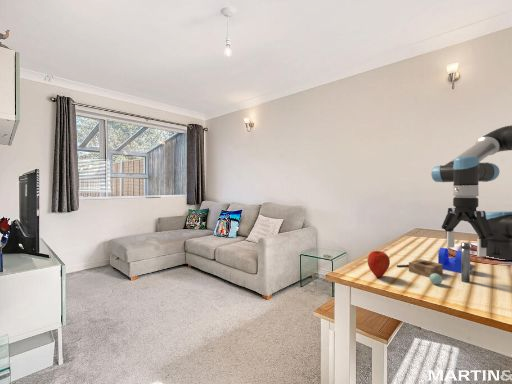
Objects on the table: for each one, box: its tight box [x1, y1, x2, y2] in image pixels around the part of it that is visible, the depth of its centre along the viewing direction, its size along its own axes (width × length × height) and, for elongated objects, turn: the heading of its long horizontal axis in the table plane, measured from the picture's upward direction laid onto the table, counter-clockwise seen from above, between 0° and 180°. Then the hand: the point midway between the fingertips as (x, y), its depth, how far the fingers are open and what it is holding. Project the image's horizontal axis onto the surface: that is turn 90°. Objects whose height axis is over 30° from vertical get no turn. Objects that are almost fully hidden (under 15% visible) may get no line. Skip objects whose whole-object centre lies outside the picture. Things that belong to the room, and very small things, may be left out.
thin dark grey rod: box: [396, 264, 409, 268], centre depth 118 cm, size 14×1×1 cm, turn 94°
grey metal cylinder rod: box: [460, 241, 471, 284], centre depth 99 cm, size 3×3×15 cm
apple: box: [367, 250, 391, 278], centre depth 106 cm, size 9×8×11 cm
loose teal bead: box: [429, 273, 443, 285], centre depth 97 cm, size 4×4×4 cm
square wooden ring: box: [408, 258, 444, 278], centre depth 109 cm, size 9×9×4 cm
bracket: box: [437, 247, 461, 274], centre depth 116 cm, size 18×8×9 cm, turn 128°
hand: (465, 251), depth 98 cm, fingers open, 13 cm apart
